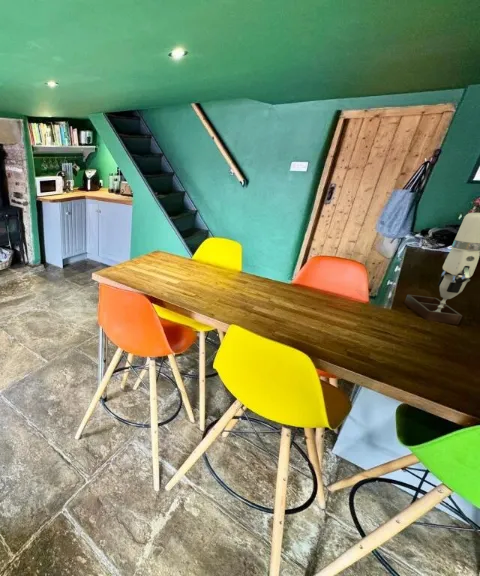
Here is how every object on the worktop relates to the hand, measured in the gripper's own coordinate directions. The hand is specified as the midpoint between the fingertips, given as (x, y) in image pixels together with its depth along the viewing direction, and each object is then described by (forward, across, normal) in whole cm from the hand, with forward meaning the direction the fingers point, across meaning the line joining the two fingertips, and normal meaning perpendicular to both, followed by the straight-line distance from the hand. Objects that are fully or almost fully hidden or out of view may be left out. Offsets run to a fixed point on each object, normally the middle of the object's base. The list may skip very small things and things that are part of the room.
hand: (447, 288), depth 122 cm
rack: (+14, +5, 0) cm, 15 cm away
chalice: (+13, 0, 0) cm, 13 cm away
